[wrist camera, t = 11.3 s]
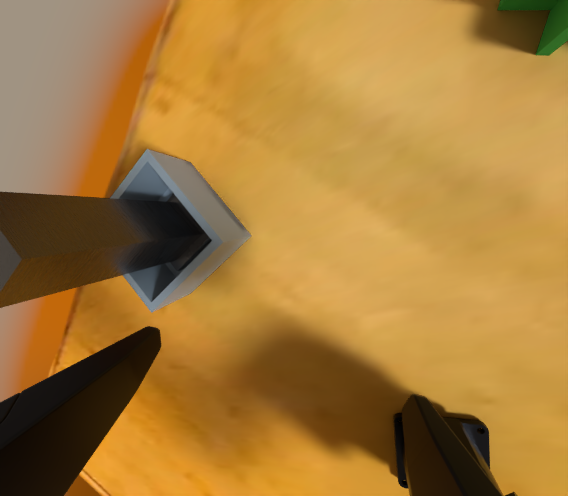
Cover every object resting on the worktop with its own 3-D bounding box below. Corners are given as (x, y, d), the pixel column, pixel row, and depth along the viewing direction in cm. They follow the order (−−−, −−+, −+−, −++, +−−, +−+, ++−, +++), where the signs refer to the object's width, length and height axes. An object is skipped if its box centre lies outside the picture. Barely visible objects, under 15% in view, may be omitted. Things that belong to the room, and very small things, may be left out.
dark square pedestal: (218, 234, 22) (40, 262, 9) (184, 268, 23) (-11, 332, 11) (183, 191, 22) (-34, 163, 10) (151, 228, 24) (-73, 245, 11)
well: (251, 235, 22) (223, 242, 17) (190, 293, 25) (151, 312, 20) (190, 162, 23) (147, 148, 18) (137, 225, 25) (87, 228, 20)
